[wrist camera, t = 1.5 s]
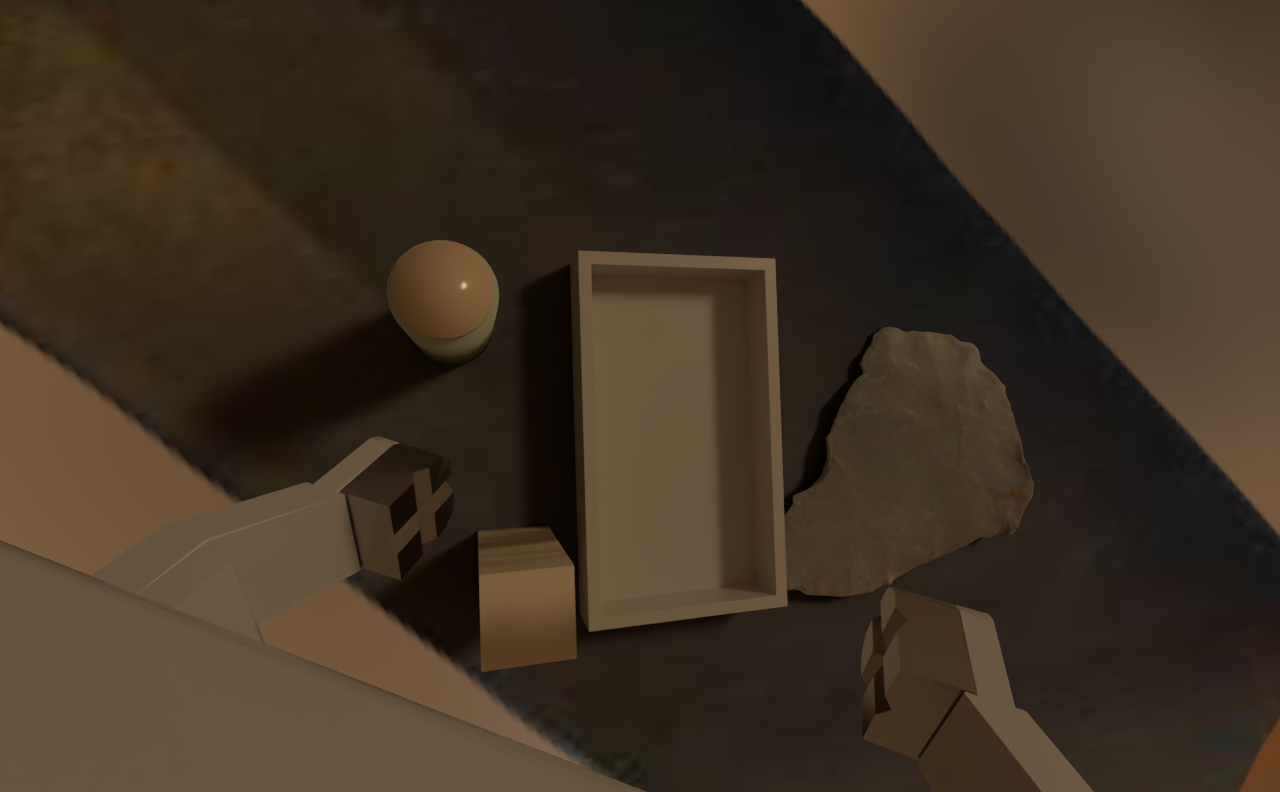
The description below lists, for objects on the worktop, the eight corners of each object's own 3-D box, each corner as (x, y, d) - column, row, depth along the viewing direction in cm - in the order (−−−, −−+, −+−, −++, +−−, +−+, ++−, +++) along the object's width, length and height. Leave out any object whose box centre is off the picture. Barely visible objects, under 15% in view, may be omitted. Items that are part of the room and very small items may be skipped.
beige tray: (569, 264, 41) (578, 250, 37) (752, 270, 44) (775, 258, 41) (579, 613, 40) (589, 631, 37) (763, 591, 44) (787, 606, 40)
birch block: (477, 530, 39) (478, 575, 28) (547, 525, 40) (574, 565, 29) (479, 601, 39) (481, 671, 28) (549, 593, 40) (576, 658, 29)
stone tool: (919, 292, 50) (692, 469, 43) (951, 281, 47) (710, 470, 40) (1037, 482, 52) (835, 681, 45) (1076, 484, 48) (864, 699, 42)
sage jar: (410, 286, 38) (382, 231, 26) (491, 288, 39) (498, 236, 28) (412, 365, 38) (384, 344, 26) (493, 364, 39) (501, 344, 28)
